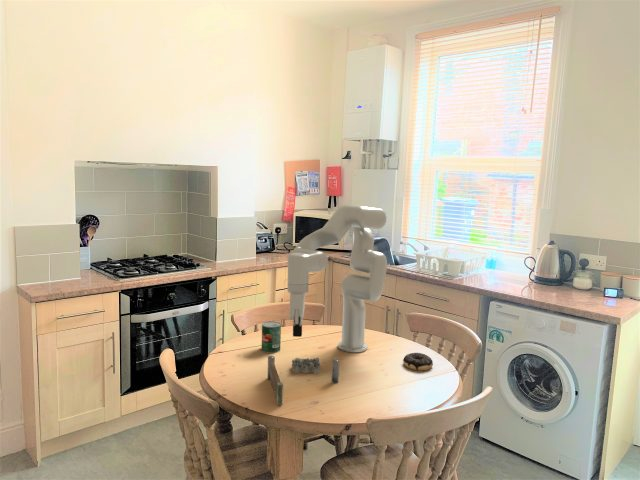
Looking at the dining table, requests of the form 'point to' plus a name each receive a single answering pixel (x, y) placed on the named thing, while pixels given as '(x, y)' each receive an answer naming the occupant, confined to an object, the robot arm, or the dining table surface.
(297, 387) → the dining table surface
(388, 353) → the dining table surface
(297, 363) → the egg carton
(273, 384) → the gate
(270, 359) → the gate posts
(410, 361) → the donut
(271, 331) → the canned tomato
